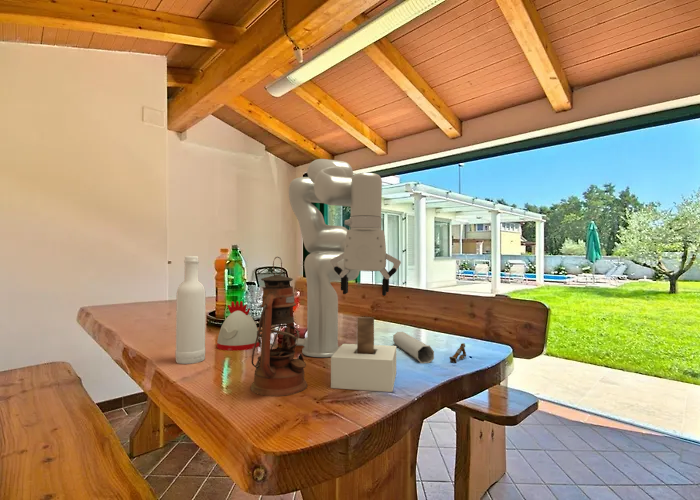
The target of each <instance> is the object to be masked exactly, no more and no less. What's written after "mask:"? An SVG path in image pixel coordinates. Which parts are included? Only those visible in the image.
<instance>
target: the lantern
mask: <svg viewBox="0 0 700 500" xmlns="http://www.w3.org/2000/svg"><path fill="white" fill-rule="evenodd" d="M276 259H279V260H280V272H279V273H278V274H276V273H275V267H274V266H275V260H276ZM272 270H273V275H270V276H266V277H262V278H260V280H261V281H263V283H264V287H263V288H262V296H261V299H262V302H261V305H260V306H259V307H260V308H262V309H261V310H262V311H261V312H260V313H261V314H260V317H259V322H258V323H259V325H258V331H257V338H256V342H255V345H254V348H253V349H252V354H251V364H252V366H253V367H255V370H254V377H253V382H252V383H251V384H250V391H251V392H252V393H254V394H257V395H260V396H267V397H283V396H291V395H294V394H298V393H301V392H302V391H305V390H306V389H307V387H308V382H307V381H306V380H305V368H306V367H307V366H306V365H307V364H306V362H305V358H304V356H305V355H304V354H303V353H300V354H299V355H298V357H297V358H294V357H295V354H296V347H297V346H298V345H297V344H295V343H296V342H297V343H298V338H300V335H301V334H300V332H301V330H298V328H297V327H296V326H295V320H294V318H295V317H294V307H296V306H297V303H296V302H295V294H294V287H293V286H292V285H290V282H291V281H293V280H294V279H293V278H292V277H289V276H288V277H287V276H285V275H282V272H283V261H282V259H281V257H279V256H275V257H274V259H273V262H272ZM272 325H274V326H272ZM281 327H284V330H280V328H281ZM275 328H278V329H275ZM271 333H275V337H274V339H273V342H272V343H271ZM278 335H282V339H281V345H280V346H276V347H275V342H276V340H277V337H278ZM258 338H259V339H258ZM296 340H297V341H296ZM257 341H258V342H259V343H260V344H259V348H260V356H258V357H257V361H256V363H255V364H254V357H255V351H256V348H257V347H256V344H257ZM273 347H275V348H273Z"/></svg>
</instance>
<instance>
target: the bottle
mask: <svg viewBox="0 0 700 500" xmlns="http://www.w3.org/2000/svg"><path fill="white" fill-rule="evenodd" d="M183 262H184V280H183V282H181V283H180V284H179V285H178V287H177V290H176V299H175V300H176V308H175V309H176V311H175V313H176V314H175V318H176V319H175V322H176V323H175V325H176V326H175V327H176V328H175V362H176V363H177V364H180V365H193V364H198V363H201V362H203V361H205V359H206V289H205V287H204V284H203V283H202V282H200V281H199V263H200V261H199V256H198V255H195V256H193V255H185V256H184V260H183Z"/></svg>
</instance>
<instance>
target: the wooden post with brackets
mask: <svg viewBox="0 0 700 500" xmlns="http://www.w3.org/2000/svg"><path fill="white" fill-rule="evenodd" d="M465 348H466V343H464V342H463V343H461V344H460V345H459V348H457V350H456V351H455V353H454V355H452V356H449V360H450V362H451V363H455V364H457V359H458V358H459V360H463V359H465V358H466V357H467V352H466V350H465Z"/></svg>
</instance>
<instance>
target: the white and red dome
mask: <svg viewBox="0 0 700 500" xmlns="http://www.w3.org/2000/svg"><path fill="white" fill-rule="evenodd" d="M227 308H228V310H229V313H230V314H229V315H228V316H227V317H226V318H225V320H224V321H223V323H222V324H221V327H220V329H219V333H218V337H217V342H216V347H217V349H218V350H221V351H228V352H229V351H233V352H234V351H238V352H239V351H246V350H251V349H252V350H253V349H254V345H255V342H256V338H257V331H258V330H259V328H258V326H257V324H256V321H255V320H254V318H253V317H252V316H251V315H250V314H249V313H250V311H251V307H250V308H247V304H244V305H243V300H242V301H240V302H239V300H236V302H234V301H231V303H230V304H227ZM246 310H247V311H246ZM258 339H259V338H258ZM259 344H260V343H259V342H258V341H257V344H256V348H258V347H259ZM259 348H260V347H259Z"/></svg>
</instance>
